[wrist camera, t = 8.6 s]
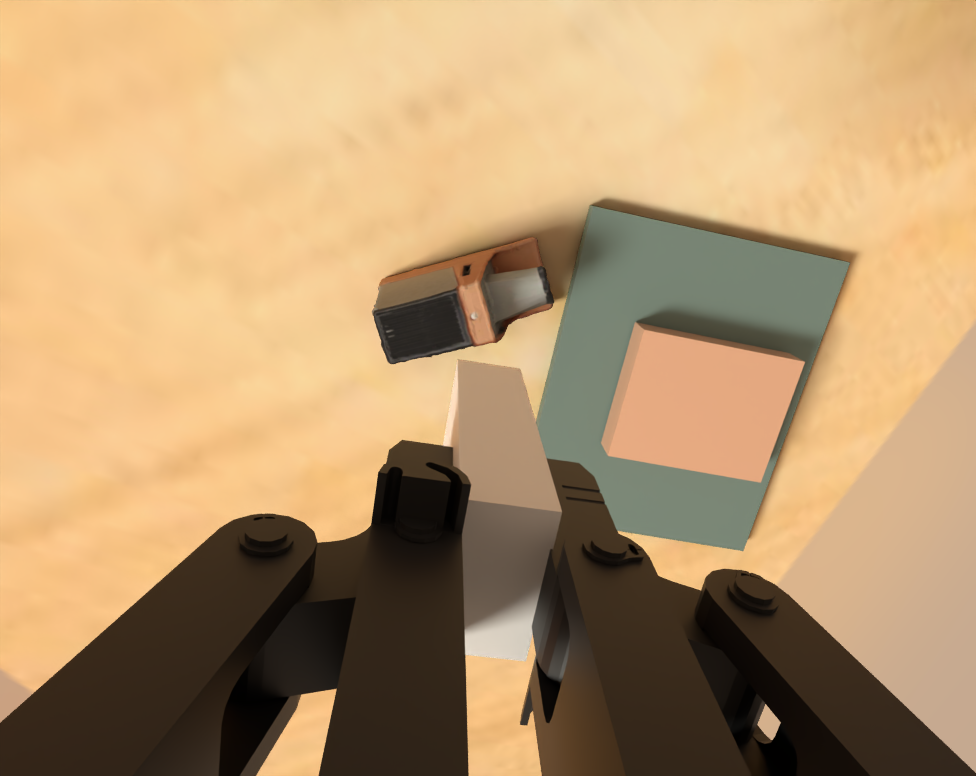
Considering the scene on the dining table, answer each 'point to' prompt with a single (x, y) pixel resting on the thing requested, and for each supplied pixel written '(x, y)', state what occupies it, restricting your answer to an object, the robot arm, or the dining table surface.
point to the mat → (683, 307)
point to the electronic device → (460, 301)
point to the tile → (699, 403)
